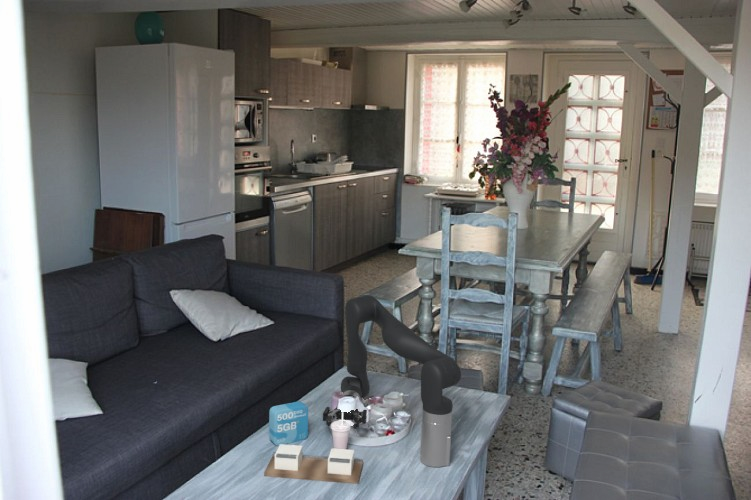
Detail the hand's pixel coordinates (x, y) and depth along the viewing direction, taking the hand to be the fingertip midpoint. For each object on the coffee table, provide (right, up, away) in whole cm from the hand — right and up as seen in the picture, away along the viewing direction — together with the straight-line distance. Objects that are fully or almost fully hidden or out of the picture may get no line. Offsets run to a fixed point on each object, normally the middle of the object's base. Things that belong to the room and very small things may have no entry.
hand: (342, 424), depth 222 cm
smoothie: (-1, -9, -1) cm, 9 cm away
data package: (-18, -7, +7) cm, 20 cm away
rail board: (-8, -11, -12) cm, 18 cm away
